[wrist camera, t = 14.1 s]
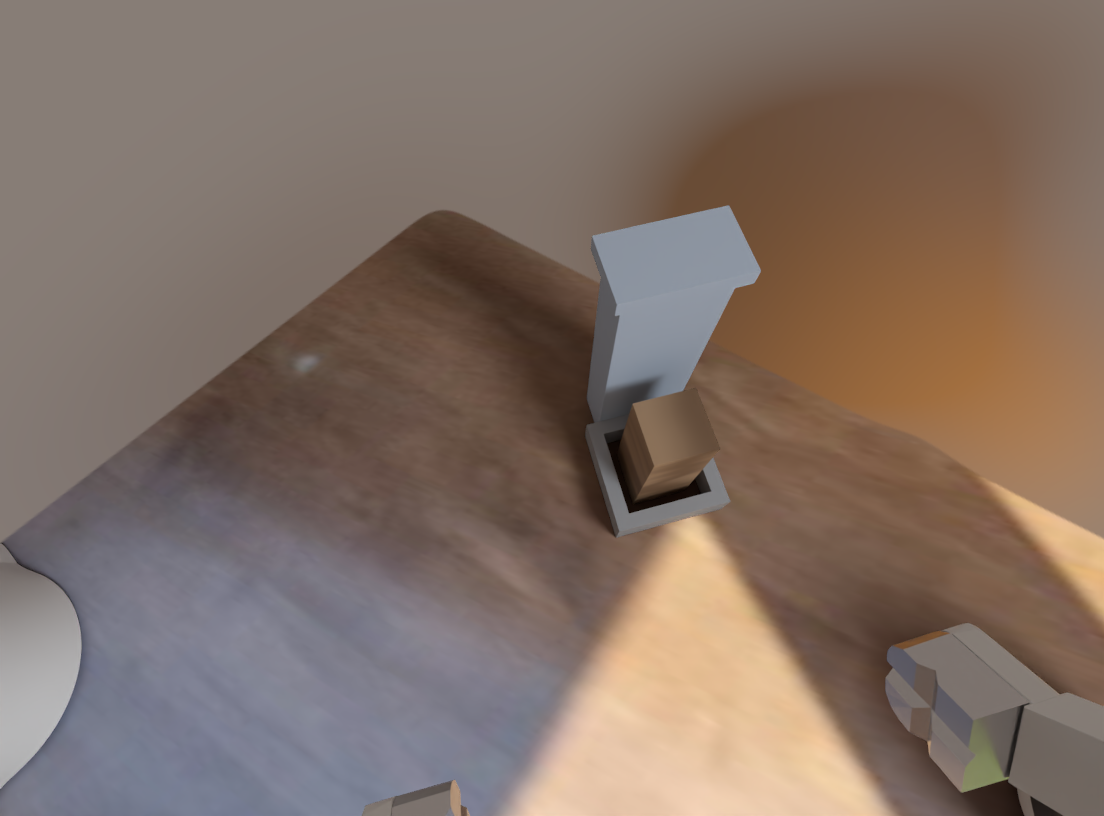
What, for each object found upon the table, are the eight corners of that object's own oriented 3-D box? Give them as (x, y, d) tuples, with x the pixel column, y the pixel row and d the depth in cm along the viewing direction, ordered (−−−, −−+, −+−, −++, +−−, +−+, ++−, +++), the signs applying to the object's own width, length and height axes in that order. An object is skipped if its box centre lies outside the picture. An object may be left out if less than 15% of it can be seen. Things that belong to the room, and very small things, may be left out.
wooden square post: (632, 504, 41) (654, 466, 32) (616, 454, 42) (632, 403, 33) (684, 490, 41) (720, 448, 32) (666, 441, 43) (695, 387, 34)
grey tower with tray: (615, 537, 40) (660, 461, 22) (572, 395, 44) (582, 237, 27) (720, 509, 41) (843, 412, 23) (668, 372, 45) (738, 203, 27)
